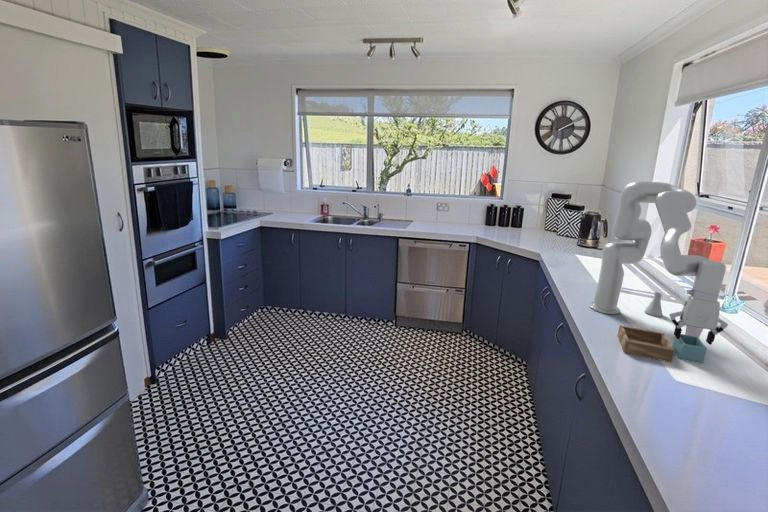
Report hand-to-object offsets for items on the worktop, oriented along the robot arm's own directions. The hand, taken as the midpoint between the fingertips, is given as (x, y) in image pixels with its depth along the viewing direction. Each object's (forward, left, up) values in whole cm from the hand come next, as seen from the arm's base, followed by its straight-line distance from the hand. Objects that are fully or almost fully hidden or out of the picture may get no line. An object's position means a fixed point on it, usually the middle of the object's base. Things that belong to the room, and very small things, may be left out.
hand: (692, 340), depth 150 cm
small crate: (-1, 0, -6) cm, 6 cm away
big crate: (+2, -15, -6) cm, 16 cm away
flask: (-42, -3, -6) cm, 42 cm away
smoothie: (-14, +4, -6) cm, 15 cm away
